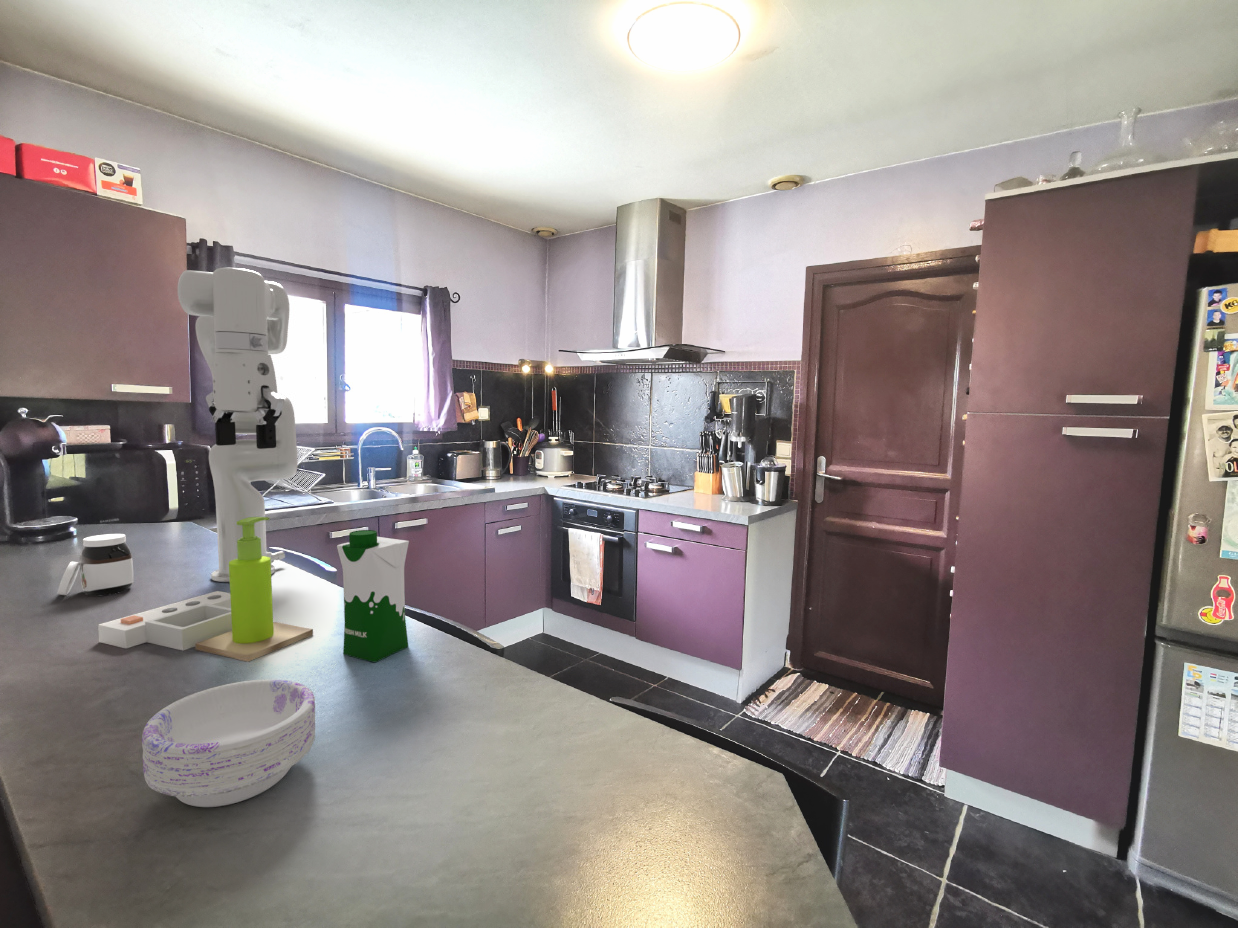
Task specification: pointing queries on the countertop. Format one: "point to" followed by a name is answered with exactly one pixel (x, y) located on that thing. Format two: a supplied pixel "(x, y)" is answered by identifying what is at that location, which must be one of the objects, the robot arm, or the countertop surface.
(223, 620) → the white holder tray
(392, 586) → the milk carton
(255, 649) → the oak board
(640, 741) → the countertop surface
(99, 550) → the spread jar
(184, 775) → the paper bowls
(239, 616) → the soap dispenser
